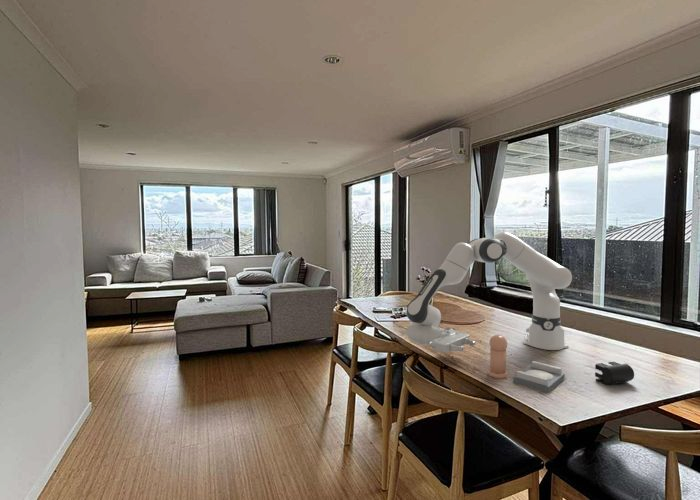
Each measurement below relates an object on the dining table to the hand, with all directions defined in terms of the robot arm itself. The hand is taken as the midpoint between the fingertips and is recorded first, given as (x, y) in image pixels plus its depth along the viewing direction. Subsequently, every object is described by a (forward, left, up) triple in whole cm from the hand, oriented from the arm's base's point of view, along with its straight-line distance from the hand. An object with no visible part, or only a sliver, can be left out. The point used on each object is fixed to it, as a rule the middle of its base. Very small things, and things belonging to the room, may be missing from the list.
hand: (468, 346), depth 149 cm
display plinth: (+7, +25, -8) cm, 27 cm away
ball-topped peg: (+6, +11, -8) cm, 15 cm away
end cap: (+1, +50, -8) cm, 50 cm away
